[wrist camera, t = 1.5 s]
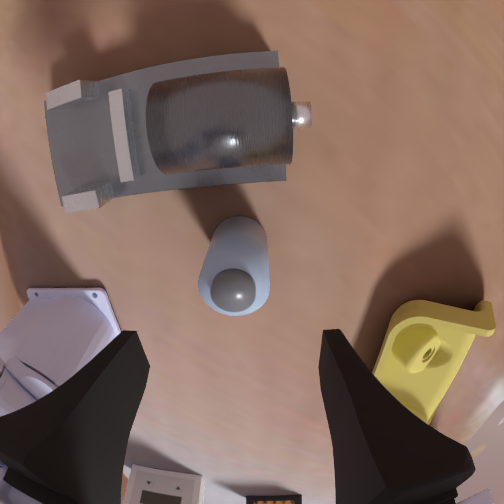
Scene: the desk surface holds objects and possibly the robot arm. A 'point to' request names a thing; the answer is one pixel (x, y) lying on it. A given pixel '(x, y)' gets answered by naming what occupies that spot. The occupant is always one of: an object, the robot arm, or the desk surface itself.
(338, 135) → the desk surface
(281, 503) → the ammunition clip
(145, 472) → the thermostat
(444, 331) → the plastic component
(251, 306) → the grey capped cylinder
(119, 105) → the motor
